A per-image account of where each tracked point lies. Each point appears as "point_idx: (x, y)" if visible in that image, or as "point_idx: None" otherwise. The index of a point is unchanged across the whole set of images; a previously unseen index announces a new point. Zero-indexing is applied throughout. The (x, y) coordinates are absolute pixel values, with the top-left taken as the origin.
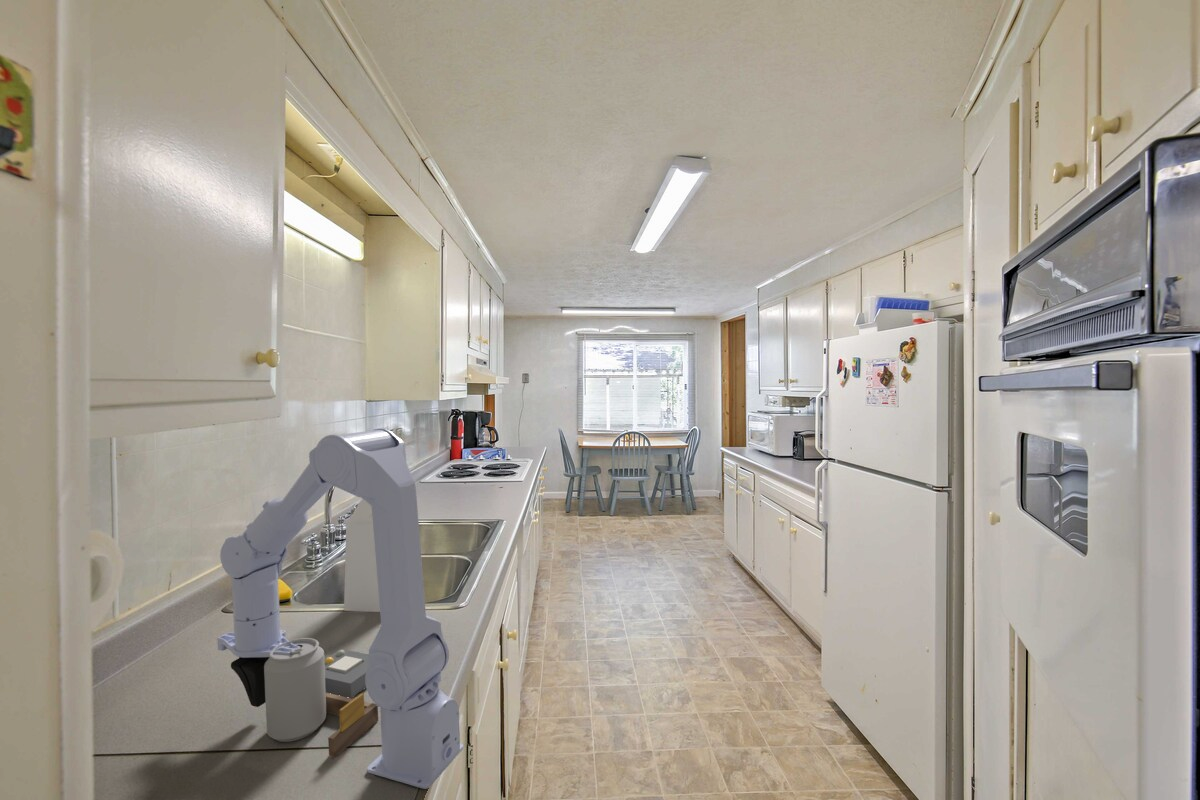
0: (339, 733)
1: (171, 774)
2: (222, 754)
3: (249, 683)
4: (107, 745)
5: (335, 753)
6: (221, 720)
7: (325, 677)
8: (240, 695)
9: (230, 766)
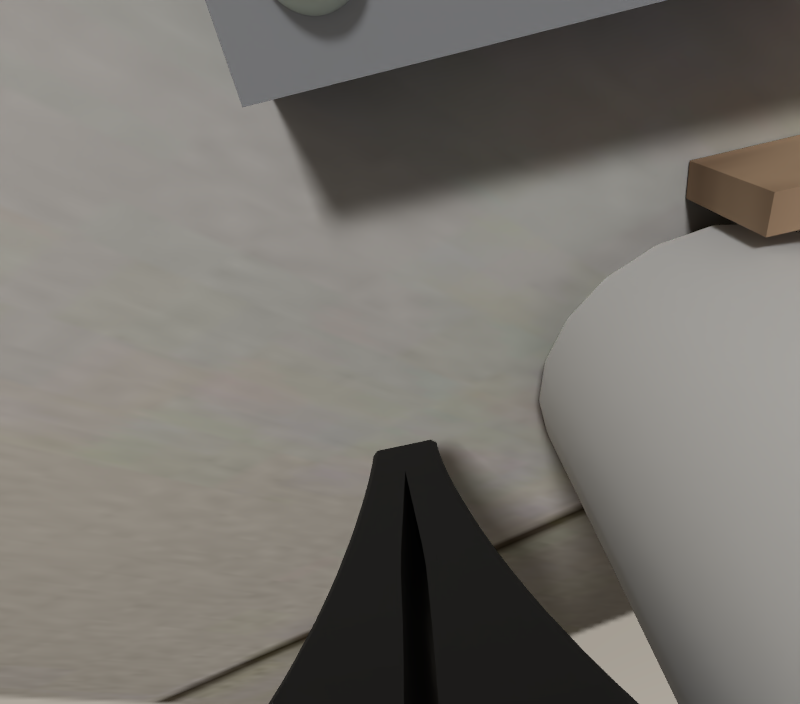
0: None
1: None
2: (508, 557)
3: (436, 682)
4: (100, 698)
5: None
6: (249, 504)
7: (581, 16)
8: (32, 386)
9: (602, 561)
